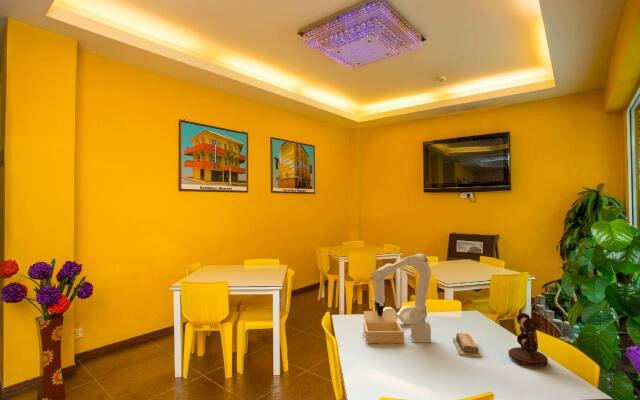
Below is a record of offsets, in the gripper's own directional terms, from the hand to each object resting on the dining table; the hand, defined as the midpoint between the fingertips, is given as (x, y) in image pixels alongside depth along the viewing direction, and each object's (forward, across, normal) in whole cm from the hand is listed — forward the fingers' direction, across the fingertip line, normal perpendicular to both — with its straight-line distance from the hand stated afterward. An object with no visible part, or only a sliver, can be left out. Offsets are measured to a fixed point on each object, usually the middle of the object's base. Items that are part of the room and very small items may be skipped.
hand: (380, 315), depth 184 cm
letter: (+8, -9, +12) cm, 17 cm away
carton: (+8, +10, -1) cm, 13 cm away
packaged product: (+10, +24, +38) cm, 45 cm away
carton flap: (0, 0, 0) cm, 1 cm away
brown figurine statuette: (+10, +37, +59) cm, 70 cm away
